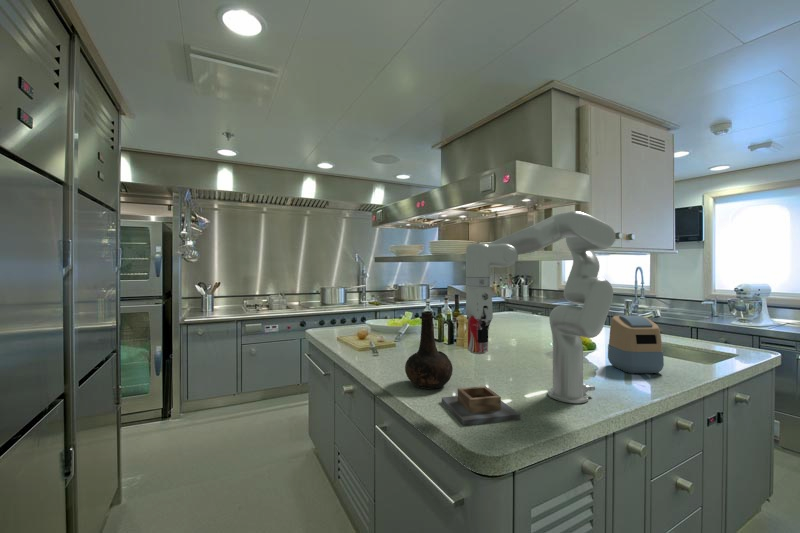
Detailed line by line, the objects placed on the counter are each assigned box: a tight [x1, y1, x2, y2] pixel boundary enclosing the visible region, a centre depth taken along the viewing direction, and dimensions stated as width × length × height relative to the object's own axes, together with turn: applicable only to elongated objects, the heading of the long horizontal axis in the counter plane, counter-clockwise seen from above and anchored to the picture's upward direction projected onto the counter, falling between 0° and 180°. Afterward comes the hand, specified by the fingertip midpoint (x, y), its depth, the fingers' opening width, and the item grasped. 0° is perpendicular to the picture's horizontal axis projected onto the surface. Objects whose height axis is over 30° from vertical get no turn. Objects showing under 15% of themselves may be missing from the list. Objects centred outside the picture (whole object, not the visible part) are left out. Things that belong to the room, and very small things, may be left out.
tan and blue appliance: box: [607, 315, 665, 374], centre depth 153 cm, size 17×17×23 cm
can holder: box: [441, 385, 521, 426], centre depth 110 cm, size 18×18×6 cm
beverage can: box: [467, 315, 489, 355], centre depth 110 cm, size 6×6×12 cm
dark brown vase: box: [404, 311, 454, 390], centre depth 133 cm, size 18×18×28 cm
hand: (477, 339), depth 110 cm, fingers closed on beverage can, 6 cm apart
